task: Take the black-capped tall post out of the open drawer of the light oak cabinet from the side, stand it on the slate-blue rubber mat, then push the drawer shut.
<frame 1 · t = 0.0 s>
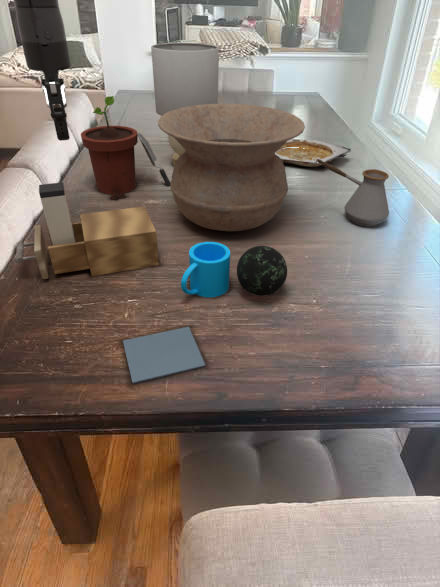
hand: (63, 133, 82), 26 cm above the table, tool pointing down, fingers open, 8 cm apart
pizza: (302, 159, 150), on the table
pot: (227, 218, 111), on the table
lamp: (188, 164, 144), on the table
mug: (203, 290, 85), on the table
mat: (163, 353, 70), on the table
drawer: (61, 248, 89), point 4 cm above the table, slide at 8.5 cm, touching black-capped tall post
potted plant: (125, 188, 126), on the table
coffee pot: (345, 218, 113), on the table
cabinet: (121, 256, 95), on the table
decorative stone: (259, 291, 85), on the table
black-capped tall post: (67, 256, 90), point 2 cm above the table, touching drawer
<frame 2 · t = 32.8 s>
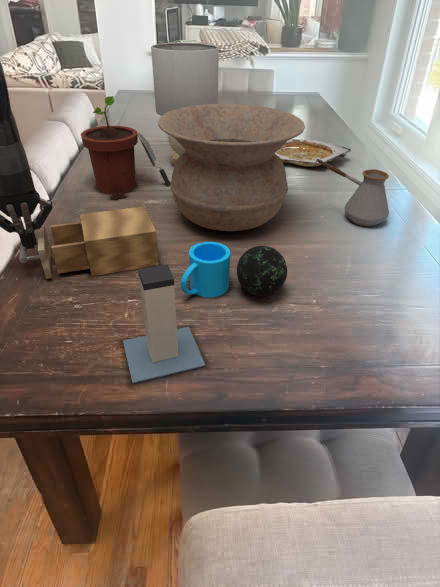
hand: (30, 247, 87), 6 cm above the table, tool pointing down, fingers closed
drawer: (64, 247, 89), point 4 cm above the table, slide at 7.8 cm, touching gripper
black-capped tall post: (162, 351, 70), resting on mat
everything else where it was.
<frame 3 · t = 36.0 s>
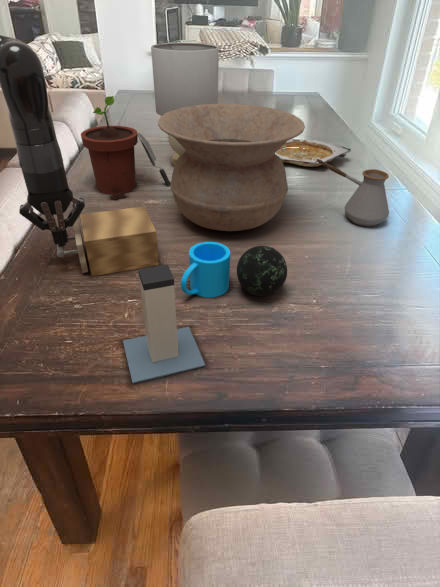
hand: (62, 244, 88), 5 cm above the table, tool pointing down, fingers closed
drawer: (99, 242, 91), point 4 cm above the table, slide at 0.5 cm
everything else where it was.
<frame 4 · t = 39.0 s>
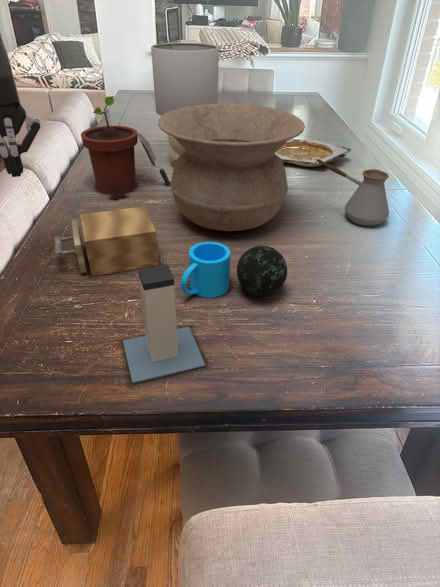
hand: (16, 175, 78), 21 cm above the table, tool pointing down, fingers closed
drawer: (97, 242, 91), point 4 cm above the table, slide at 0.8 cm
everything else where it was.
at the end: black-capped tall post inside the target area on the mat (0.2 cm from its centre), point 0.4 cm above the mat's base; black-capped tall post tilted 0°; drawer slide at 0.8 cm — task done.
